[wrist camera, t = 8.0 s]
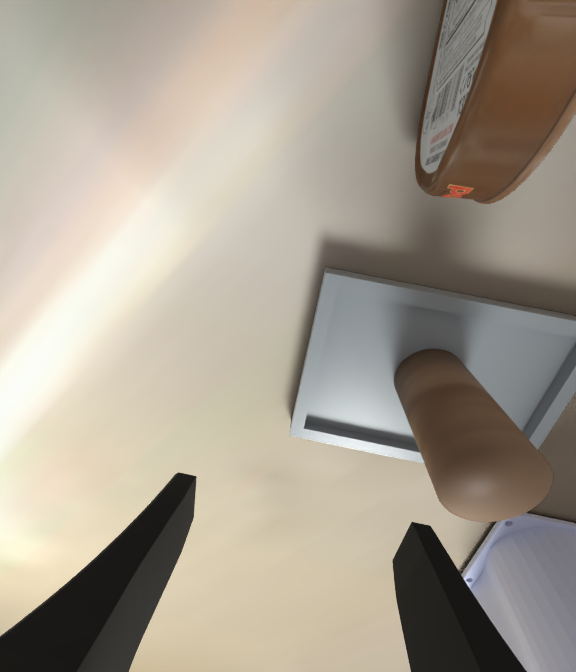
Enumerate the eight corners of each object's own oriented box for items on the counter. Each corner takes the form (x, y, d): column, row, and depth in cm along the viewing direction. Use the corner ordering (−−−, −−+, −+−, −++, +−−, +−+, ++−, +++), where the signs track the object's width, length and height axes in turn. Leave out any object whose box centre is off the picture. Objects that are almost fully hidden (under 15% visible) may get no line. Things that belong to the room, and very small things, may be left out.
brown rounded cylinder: (444, 414, 19) (512, 532, 13) (383, 396, 19) (418, 505, 12) (478, 360, 18) (577, 462, 11) (411, 340, 18) (469, 430, 11)
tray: (504, 464, 21) (516, 482, 20) (291, 420, 22) (289, 435, 20) (593, 319, 17) (616, 329, 16) (325, 267, 17) (325, 272, 16)
